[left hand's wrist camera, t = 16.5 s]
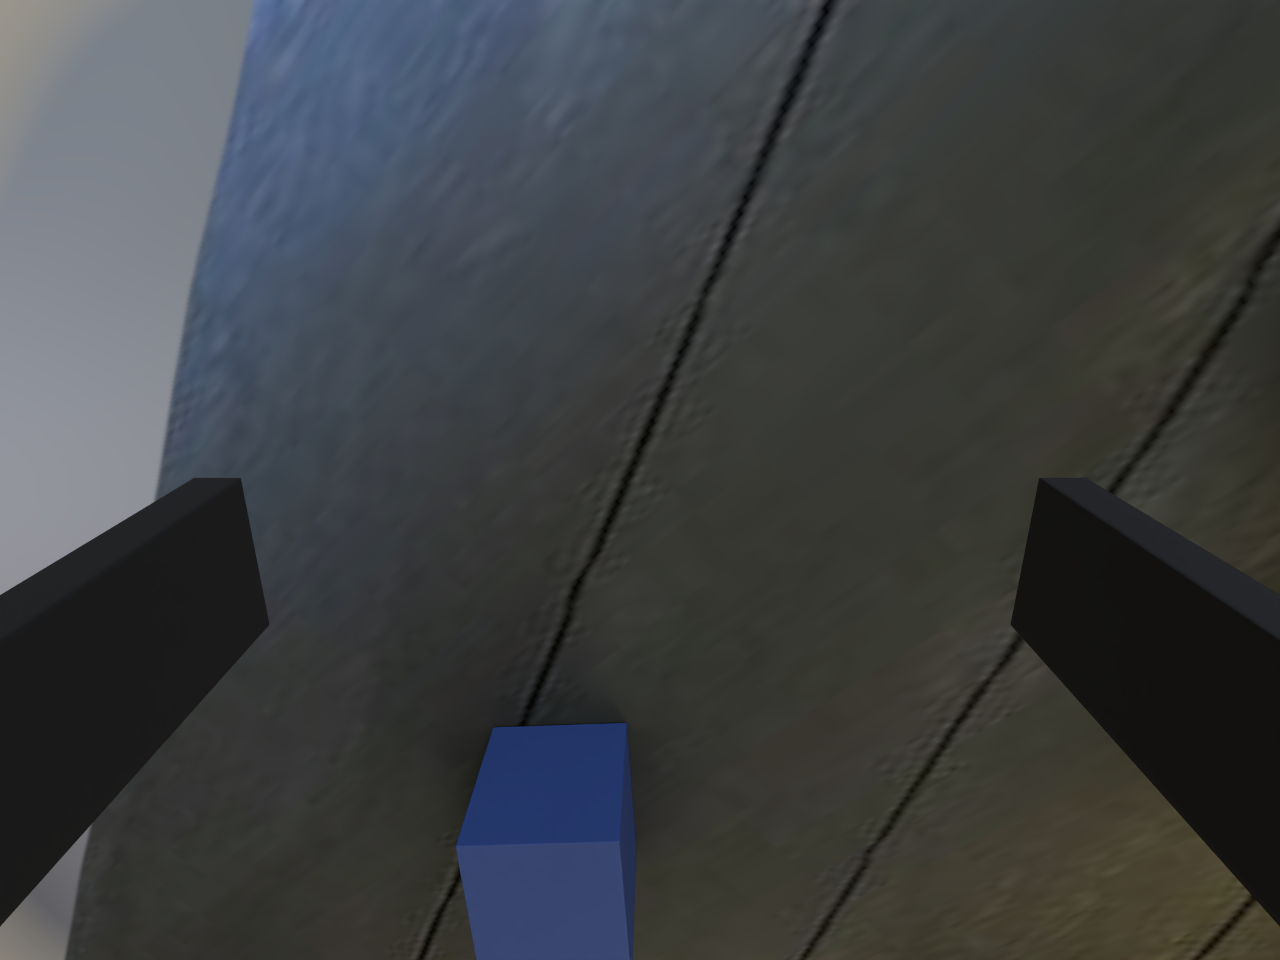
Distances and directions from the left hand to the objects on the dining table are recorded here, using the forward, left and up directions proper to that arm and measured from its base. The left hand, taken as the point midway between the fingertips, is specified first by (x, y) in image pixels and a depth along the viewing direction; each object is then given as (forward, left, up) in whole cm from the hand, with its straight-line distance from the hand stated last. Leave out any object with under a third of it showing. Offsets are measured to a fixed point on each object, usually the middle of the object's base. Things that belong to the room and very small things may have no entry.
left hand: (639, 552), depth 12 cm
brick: (-1, +26, -22) cm, 34 cm away
